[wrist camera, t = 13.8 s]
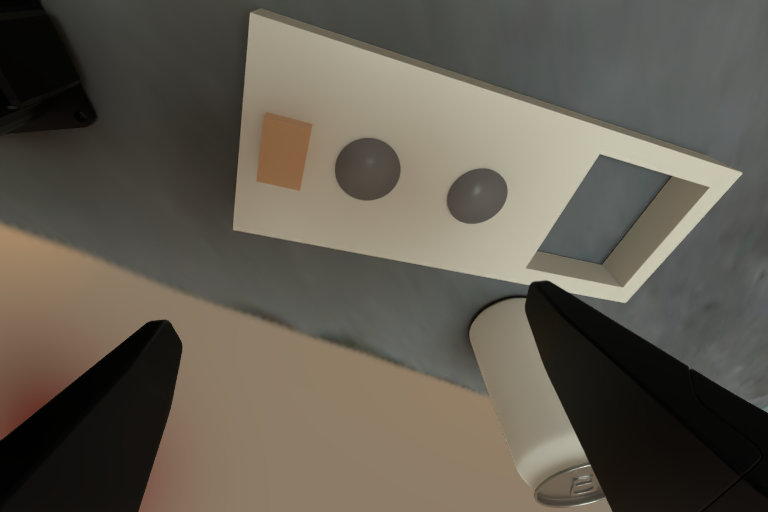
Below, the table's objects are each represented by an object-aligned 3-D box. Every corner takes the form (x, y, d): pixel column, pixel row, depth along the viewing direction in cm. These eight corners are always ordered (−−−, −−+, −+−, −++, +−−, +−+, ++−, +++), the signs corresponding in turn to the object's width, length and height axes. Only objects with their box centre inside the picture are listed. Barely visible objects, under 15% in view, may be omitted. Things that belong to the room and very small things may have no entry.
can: (544, 283, 28) (653, 446, 18) (549, 337, 31) (641, 494, 22) (460, 309, 28) (521, 478, 19) (474, 358, 32) (531, 519, 23)
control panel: (242, 206, 22) (229, 238, 19) (261, 8, 16) (245, 14, 13) (605, 279, 28) (632, 311, 25) (707, 155, 22) (756, 179, 20)
